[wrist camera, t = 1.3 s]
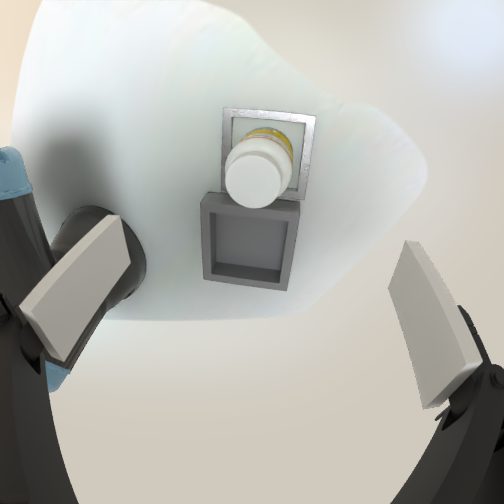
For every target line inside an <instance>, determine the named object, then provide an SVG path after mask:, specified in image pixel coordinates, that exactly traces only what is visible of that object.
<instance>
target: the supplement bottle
mask: <svg viewBox="0 0 504 504" xmlns="http://www.w3.org/2000/svg"><path fill="white" fill-rule="evenodd" d="M292 163H293V151H292V146H291V143H290V141H289V139H288V138H287V137H286V136H285V135H284V134H283V133H282V132H280V131H278V130H276V129H273V128H268V127H263V128H258V129H255V130H253V131H251V132H250V133H248V134H247V135H246V136H245V137H244V138H243V139H242V140H241V141H240V142H239V143H238V144H237V145H236V146H235V147H234V148H233V149H232V150H231V152H230V153H229V155H228V157H227V160H226V164H225V174H226V176H225V184H226V189H227V191H228V193H229V195H230V196H231V197H232V199H233V200H234V201H236V202H237V203H238V204H240V205H242V206H245V207H248V208H262V207H265V206H267V205H269V204H271V203H272V202H273V201H274V200H275V199H276V198H277V197H278V196H280V195H281V194H282V193H283V192H284V191H285V190H286V188H287V187H288V185H289V183H290V180H291V176H292Z"/></svg>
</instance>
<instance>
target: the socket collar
mask: <svg viewBox="0 0 504 504" xmlns="http://www.w3.org/2000/svg"><path fill="white" fill-rule="evenodd" d="M233 117H250V118H263V119H274V120H283V121H292V122H300V123H306V126H305V135H304V143H303V152H302V160H301V168H300V175H299V183H298V189H291V188H286V190H285V191H284V192H283V193H282V194H281V195H280V196H278V197H284V198H292V199H300V200H304V199H305V192H306V186H307V179H308V172H309V164H310V157H311V149H312V142H313V134H314V125H315V116H312V115H305V114H297V113H289V112H280V111H269V110H257V109H241V108H223V128H222V161H221V191H227V189H226V184H225V176H226V174H225V164H226V160H227V157H228V155H229V153H230V152H231V143H232V121H233Z"/></svg>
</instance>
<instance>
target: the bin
mask: <svg viewBox="0 0 504 504" xmlns="http://www.w3.org/2000/svg"><path fill="white" fill-rule="evenodd" d="M200 209H201V239H202V260H203V278H204V279H205V280H211V281H218V282H224V283H231V284H238V285H245V286H252V287H259V288H267V289H274V290H282V291H287V287H288V282H289V276H290V271H291V265H292V259H293V253H294V248H295V242H296V236H297V229H298V223H299V217H300V202H297V201H289V200H281V199H275V200H274V201H273V202H272V203H271V204H269V205H267V206H265V207H262V208H248V207H245V206H242V205H240V204H238V203H237V202H236V201H234V200H233V199H232V197H231V196H230V195H229V194H227V193H216V192H208V193H207V194H206V196H205V197H204V198H203V200H202V201H201V202H200Z"/></svg>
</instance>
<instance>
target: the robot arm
mask: <svg viewBox="0 0 504 504" xmlns="http://www.w3.org/2000/svg"><path fill="white" fill-rule="evenodd" d="M32 190H33V189H32V185H31V184H30V183H29V180H28V177H27V173H26V170H25V166H24V162H23V158H22V156H21V154H20V152H19V151H18V150H17V149H15V148H13V147H3V148H0V504H79V503H78V501H77V498H76V496H75V493H74V491H73V488H72V485H71V483H70V480H69V477H68V474H67V471H66V468H65V464H64V461H63V458H62V454H61V451H60V447H59V443H58V439H57V435H56V430H55V426H54V421H53V416H52V411H51V406H50V399H49V392H54V391H56V390H57V389H58V388H59V387H60V385H61V384H62V382H63V381H64V379H65V378H66V376H67V375H68V374H70V372H71V370H72V368H73V366H74V364H75V363H76V361H77V359H78V357H79V356H80V354H81V352H82V351H83V349H84V347H85V345H86V344H87V342H88V340H89V339H90V337H91V335H92V334H93V332H94V331H95V329H96V327H97V326H98V324H99V322H100V321H101V319H102V318H103V316H104V315H105V313H106V312H107V311H108V310H110V309H111V308H113V307H114V306H115V305H117V304H118V303H119V302H120V301H121V300H123V299H126V298H128V297H129V296H131V295H132V294H133V293H134V292H135V291H136V289H137V288H138V286H139V285H140V283H141V282H142V280H143V278H144V276H145V271H146V262H145V257H144V253H143V250H142V247H141V245H140V243H139V241H138V239H137V238H136V236H135V235H134V233H133V232H132V231H131V229H130V228H129V227H128V226H127V225H126V224H125V223H124V222H123V221H122V220H121V217H120V215H115V214H113V213H111V212H110V211H108V210H105V209H103V208H100V207H96V206H86V207H82V208H79V209H78V210H76V211H75V212H74V213H72V214H71V215H70V216H69V217H67V218H66V220H65V221H64V222H63V224H62V226H61V228H60V230H59V232H58V233H57V235H56V237H55V238H54V240H53V242H52V244H51V246H49V243H48V241H47V238H46V235H45V232H44V230H43V227H42V224H41V221H40V218H39V214H38V211H37V208H36V204H35V201H34V198H33V194H32ZM388 289H389V292H390V295H391V298H392V301H393V304H394V307H395V310H396V312H397V315H398V318H399V321H400V325H401V328H402V331H403V334H404V337H405V340H406V344H407V347H408V351H409V354H410V358H411V361H412V365H413V369H414V372H415V377H416V380H417V385H418V389H419V393H420V398H421V402H422V407H423V409H428V408H434V407H439V406H440V405H441V404H443V402H445V401H446V400H447V399H449V402H450V405H449V406H448V407H447V408H446V409H445V410H444V411H443V412H441V413H440V414H439V415H438V416H437V417H436V419H435V421H437V420H438V419H440V418H441V417H442V416H443V417H442V419H441V421H440V423H439V425H438V427H437V429H436V431H435V434H434V435H433V437H432V439H431V441H430V443H429V445H428V446H427V448H426V450H425V452H424V454H423V455H422V457H421V459H420V460H419V462H418V464H417V465H416V467H415V469H414V470H413V472H412V474H411V475H410V477H409V478H408V480H407V481H406V483H405V484H404V486H403V487H402V488H401V490H400V491H399V493H398V494H397V495H396V497H395V498H394V499H393V501H392V502H391V503H390V504H504V369H503V368H502V367H501V366H499V365H496V364H491V361H490V359H489V357H488V354H487V352H486V350H485V348H484V345H483V343H482V341H481V339H480V337H479V335H477V330H476V328H475V327H474V326H473V325H474V324H473V322H472V320H471V318H470V316H469V314H468V313H467V312H466V311H465V310H464V309H463V308H462V307H461V306H460V305H456V303H455V301H454V299H453V297H452V295H451V294H450V292H449V290H448V288H447V286H446V285H445V283H444V281H443V279H442V278H441V276H440V274H439V273H438V271H437V269H436V268H435V266H434V264H433V263H432V261H431V260H430V258H429V257H428V255H427V253H426V252H425V250H424V249H423V247H422V246H421V244H420V243H419V242H414V241H405V243H404V246H403V249H402V252H401V255H400V258H399V260H398V263H397V266H396V269H395V271H394V274H393V277H392V279H391V282H390V285H389V287H388Z"/></svg>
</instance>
